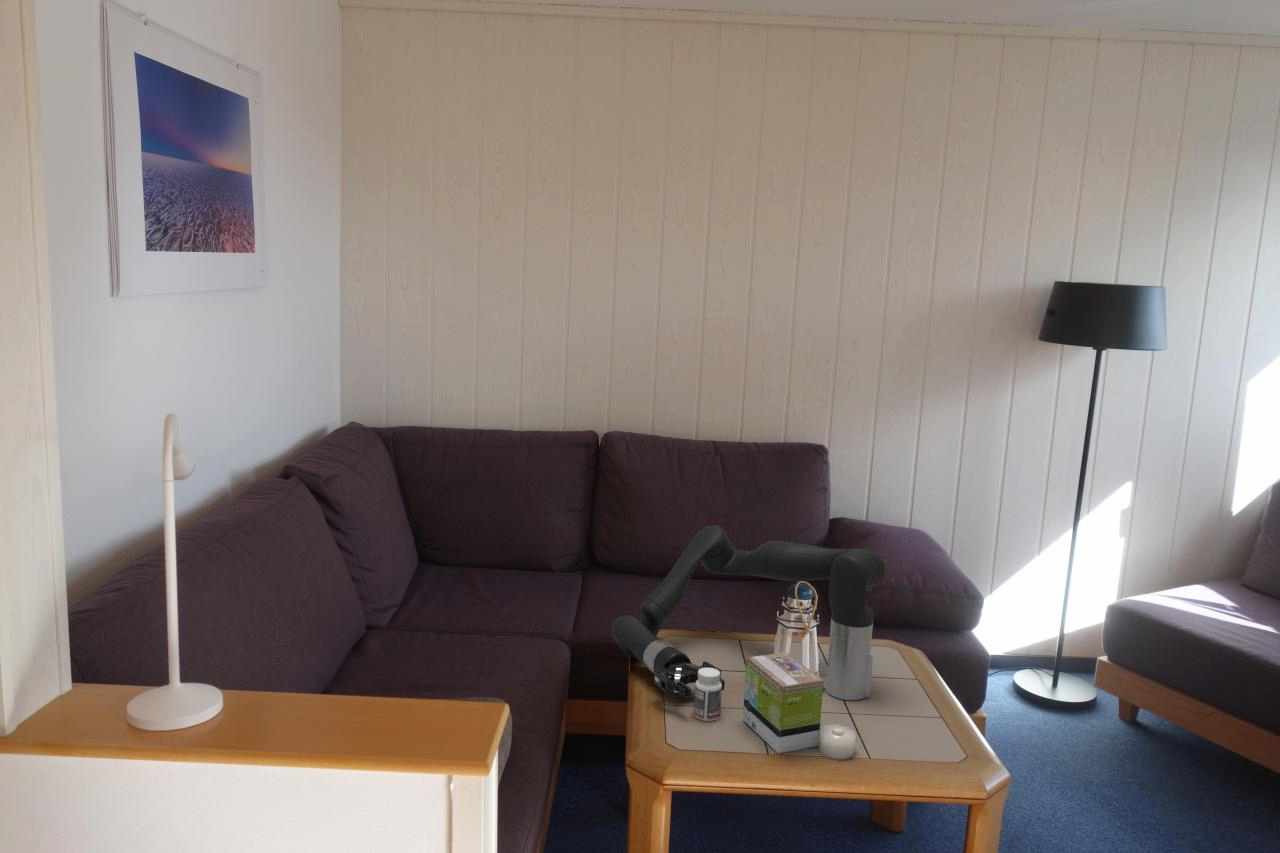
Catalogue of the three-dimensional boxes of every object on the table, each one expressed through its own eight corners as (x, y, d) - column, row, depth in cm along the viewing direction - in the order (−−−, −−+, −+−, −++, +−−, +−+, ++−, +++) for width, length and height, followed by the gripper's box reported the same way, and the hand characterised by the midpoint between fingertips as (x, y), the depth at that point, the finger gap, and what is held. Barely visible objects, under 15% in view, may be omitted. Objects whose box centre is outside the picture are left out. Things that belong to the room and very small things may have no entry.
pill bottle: (720, 711, 214) (723, 667, 212) (719, 723, 208) (722, 678, 207) (693, 708, 214) (696, 665, 213) (692, 720, 209) (695, 676, 207)
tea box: (740, 721, 210) (745, 655, 207) (781, 714, 214) (786, 650, 211) (777, 755, 196) (782, 684, 193) (820, 747, 200) (826, 678, 197)
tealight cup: (848, 742, 203) (850, 720, 202) (858, 759, 196) (860, 737, 195) (814, 742, 202) (816, 720, 201) (823, 760, 195) (825, 737, 194)
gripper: (692, 671, 229) (732, 700, 215) (638, 683, 221) (677, 713, 208) (693, 641, 227) (734, 667, 213) (640, 651, 220) (678, 679, 206)
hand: (706, 690), depth 211 cm, fingers open, 8 cm apart
